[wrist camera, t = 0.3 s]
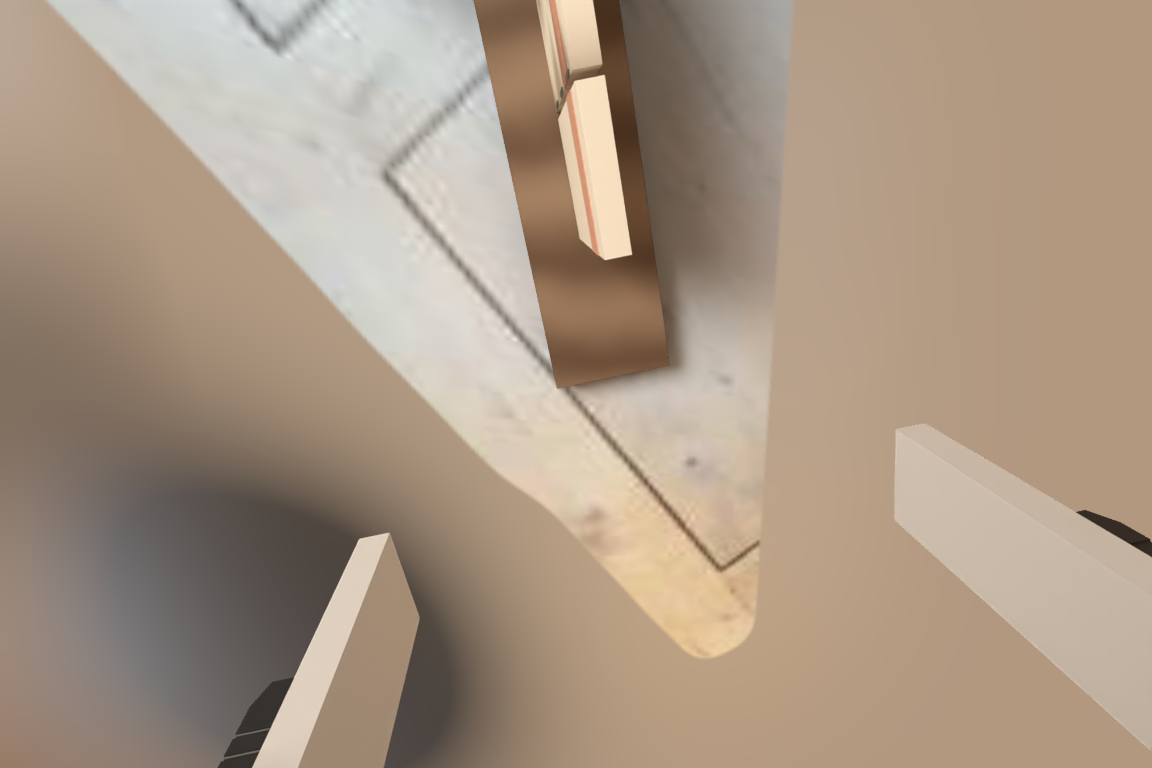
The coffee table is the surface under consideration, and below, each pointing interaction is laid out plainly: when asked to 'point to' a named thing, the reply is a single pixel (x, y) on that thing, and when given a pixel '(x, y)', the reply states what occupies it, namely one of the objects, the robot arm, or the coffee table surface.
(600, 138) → the stub
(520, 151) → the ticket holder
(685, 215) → the coffee table surface
